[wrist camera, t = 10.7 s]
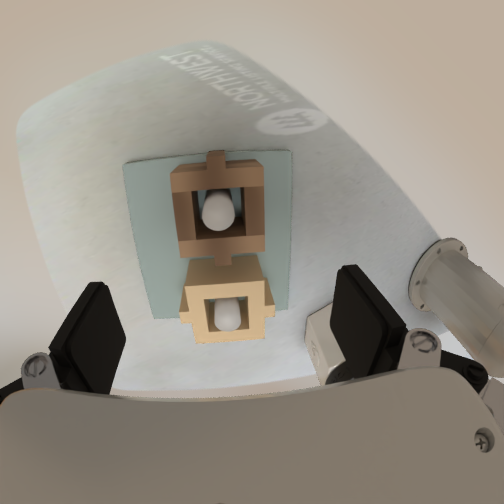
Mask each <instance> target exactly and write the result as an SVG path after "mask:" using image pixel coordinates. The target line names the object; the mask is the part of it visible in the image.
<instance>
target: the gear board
mask: <svg viewBox="0 0 504 504" xmlns="http://www.w3.org/2000/svg"><path fill="white" fill-rule="evenodd" d="M207 154H208V153H202V154H191V155H181V156H172V157H163V158H155V159H148V160H141V161H134V162H128V163H125V164H123V173H124V181H125V188H126V195H127V201H128V207H129V213H130V219H131V225H132V230H133V235H134V240H135V245H136V250H137V254H138V259H139V263H140V268H141V272H142V276H143V280H144V284H145V288H146V292H147V296H148V299H149V303H150V307H151V310H152V314H153V317H154V319H165V318H180V319H181V324H182V323H192V327H193V332H194V337H195V341H196V344H197V343H215V342H230V341H242V340H253V339H263V338H265V317H275V311H278V310H287V309H288V293H289V272H290V247H291V212H292V151H290V150H251V151H230V152H225V161H229V160H248V159H256V160H257V161H258V162H259V163H260V164H261V165H262V166H263V167H264V209H265V252H254V253H241V254H231V259H232V265H225V266H215V260H214V256H201V257H188V258H180V251H179V245H178V238H177V231H176V224H175V216H174V208H173V200H172V191H171V182H170V173H171V172H172V171H173V170H174V169H175V168H176V167H177V166H178V165H181V164H191V163H202V162H206V156H207ZM197 191H198V202H199V212H200V219H203V222H204V224H205V225H206V226H207V227H208V228H210V229H212V230H215V231H222V230H225V229H227V228H228V227H230V226H231V224H232V223H233V221H234V217H241V216H242V215H241V193H240V187H238V188H222V189H209V190H197Z"/></svg>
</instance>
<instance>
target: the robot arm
mask: <svg viewBox="0 0 504 504" xmlns="http://www.w3.org/2000/svg"><path fill="white" fill-rule="evenodd" d="M409 297H410V300H411V302H412V304H413V305H414V306H415V307H416V308H417V309H418V310H420V311H431V310H432V311H433V312H434V313H435V315H436V316H437V317H438V318H439V319H440V320H441V321H442V322H443V323H444V325H445V326H446V327H447V328H448V329H449V330H450V331H451V333H452V334H453V335H454V336H455V337H456V338H457V340H458V341H459V342H460V343H461V344H462V346H463V347H464V348H465V349H466V350H467V352H468V353H469V354H470V355H471V357H472V358H473V359H474V360H475V361H474V360H471V359H468V358H465V357H462V356H459V355H456V354H453V353H450V352H447V351H444V350H441V341H440V339H439V338H438V337H437V335H436V334H434V333H433V332H431V331H429V330H427V329H422V328H415V329H412V330H410V331H408V329H407V328H406V324H405V323H404V321H403V320H402V319H401V317H400V316H399V315H398V314H397V312H396V311H395V310H394V309H393V307H392V306H391V305H390V304H389V302H388V301H387V300H386V299H385V297H384V296H383V295H382V294H381V293H380V291H379V290H378V289H377V288H376V287H375V285H374V284H373V283H372V282H371V281H370V279H369V278H368V277H367V276H366V275H365V274H364V272H363V271H362V270H361V269H360V268H359V267H358V265H356V264H354V265H344V266H342V268H341V269H339V270H338V272H337V279H336V286H335V292H334V298H333V304H332V310H331V316H330V329H331V331H332V333H333V335H334V337H335V339H336V341H337V343H338V345H339V347H340V350H341V352H342V354H343V356H344V358H345V360H346V362H347V364H348V366H349V369H350V371H351V373H352V375H353V377H354V379H353V380H348V381H343V382H338V383H333V384H328V385H323V386H317V387H312V388H306V389H299V390H292V391H285V392H277V393H269V394H261V395H249V396H237V397H219V398H147V397H130V396H117V395H109V394H110V390H111V387H112V383H113V380H114V377H115V373H116V370H117V367H118V364H119V361H120V358H121V355H122V352H123V349H124V346H125V342H126V336H125V333H124V330H123V328H122V325H121V322H120V320H119V317H118V314H117V311H116V308H115V305H114V303H113V300H112V297H111V293H110V290H109V288H108V286H107V285H105V284H104V283H103V282H90V283H89V284H88V285H87V287H86V288H85V290H84V291H83V292H82V294H81V295H80V297H79V298H78V300H77V301H76V303H75V305H74V306H73V308H72V309H71V311H70V312H69V314H68V315H67V317H66V319H65V320H64V322H63V324H62V325H61V327H60V329H59V330H58V332H57V334H56V335H55V337H54V339H53V340H52V342H51V344H50V346H49V347H48V348H49V349H50V351H51V352H50V354H49V355H47V354H46V353H42V352H40V353H35V354H33V355H31V356H29V357H28V358H27V359H26V360H25V361H24V363H23V365H22V367H21V376H22V377H21V378H19V379H18V380H16V381H14V382H12V383H10V384H9V385H7V386H5V387H3V388H1V389H0V504H504V384H502V383H501V382H499V381H498V380H496V379H494V378H491V380H489V379H488V375H489V376H492V377H498V378H504V287H503V286H501V285H500V284H499V283H498V282H497V281H495V280H494V279H493V278H492V277H490V276H489V275H488V274H487V273H485V272H484V271H483V270H482V267H480V266H477V265H475V264H474V263H473V262H471V261H470V260H469V259H468V253H467V249H466V247H465V245H464V244H463V243H462V242H461V241H459V240H457V239H455V238H446V239H443V240H441V241H439V242H437V243H436V244H434V245H433V246H432V247H431V248H430V249H429V250H428V251H427V252H426V253H425V254H424V255H423V257H422V258H421V259H420V261H419V263H418V264H417V266H416V268H415V270H414V272H413V274H412V278H411V281H410V286H409Z"/></svg>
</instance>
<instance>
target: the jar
mask: <svg viewBox="0 0 504 504" xmlns="http://www.w3.org/2000/svg"><path fill="white" fill-rule="evenodd" d="M332 304H333V302H332V303H331V304H329V305H327V306H326V307H324V308H322V309H321V310H319V311H317V312H315V313H314V314H312V315H310V316H308V318H307V326H306V334H305V344H306V346H307V349H308V352H309V355H310V357H311V360H312V363H313V365H314V368H315V371H316V374H317V376H318V379H319V382H320V385H321V386H323V385H328V384H333V383H338V382H343V381H348V380H353V379H354V377H353V375H352V373H351V371H350V369H349V366H348V364H347V362H346V360H345V358H344V356H343V354H342V352H341V350H340V347H339V345H338V343H337V341H336V339H335V337H334V335H333V333H332V331H331V329H330V316H331V310H332Z"/></svg>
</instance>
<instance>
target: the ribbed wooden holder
mask: <svg viewBox="0 0 504 504" xmlns="http://www.w3.org/2000/svg"><path fill="white" fill-rule="evenodd" d="M170 182H171V191H172V200H173V208H174V216H175V224H176V231H177V238H178V245H179V251H180V258H188V257H201V256H214V260H215V266H225V265H232V259H231V254H241V253H254V252H265V209H264V167H263V166H262V165H261V164H260V163H259V162H258V161H257V160H256V159H248V160H229V161H225V151H224V150H219V151H209V152H208V154H207V156H206V162H202V163H191V164H181V165H178V166H177V167H176V168H175V169H174V170H173V171H172V172H171V173H170ZM238 187H240V193H241V215H242V216H241V217H234V221H233V223H232V224H231V226H230V227H228V228H227V229H225V230H222V231H215V230H212V229H210V228H208V227H207V226H206V225H205V224H204V222H203V219H200V212H199V202H198V191H197V190H209V189H222V188H238Z"/></svg>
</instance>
